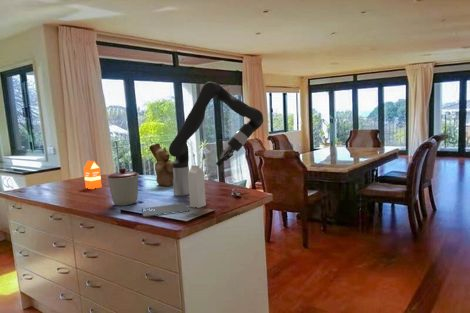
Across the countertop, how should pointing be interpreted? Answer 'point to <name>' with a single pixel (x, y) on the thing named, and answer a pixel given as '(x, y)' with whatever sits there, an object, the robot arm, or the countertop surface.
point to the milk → (196, 187)
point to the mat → (165, 209)
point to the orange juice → (92, 175)
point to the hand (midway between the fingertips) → (217, 165)
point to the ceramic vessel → (162, 165)
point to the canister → (123, 187)
